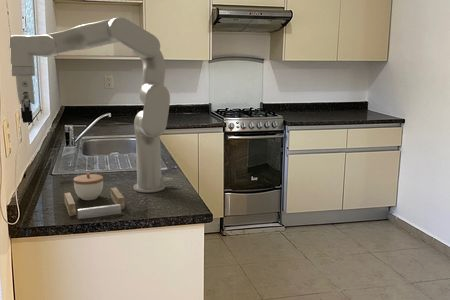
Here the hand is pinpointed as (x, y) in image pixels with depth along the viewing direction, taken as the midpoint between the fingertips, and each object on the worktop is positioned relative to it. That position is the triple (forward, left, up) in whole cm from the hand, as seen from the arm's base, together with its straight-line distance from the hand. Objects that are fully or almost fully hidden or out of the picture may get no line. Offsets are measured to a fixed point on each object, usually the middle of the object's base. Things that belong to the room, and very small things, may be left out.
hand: (27, 120), depth 173 cm
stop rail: (-19, +26, -30) cm, 44 cm away
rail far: (-11, +15, -30) cm, 35 cm away
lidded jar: (-19, +4, -30) cm, 36 cm away
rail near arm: (-28, +15, -30) cm, 43 cm away
